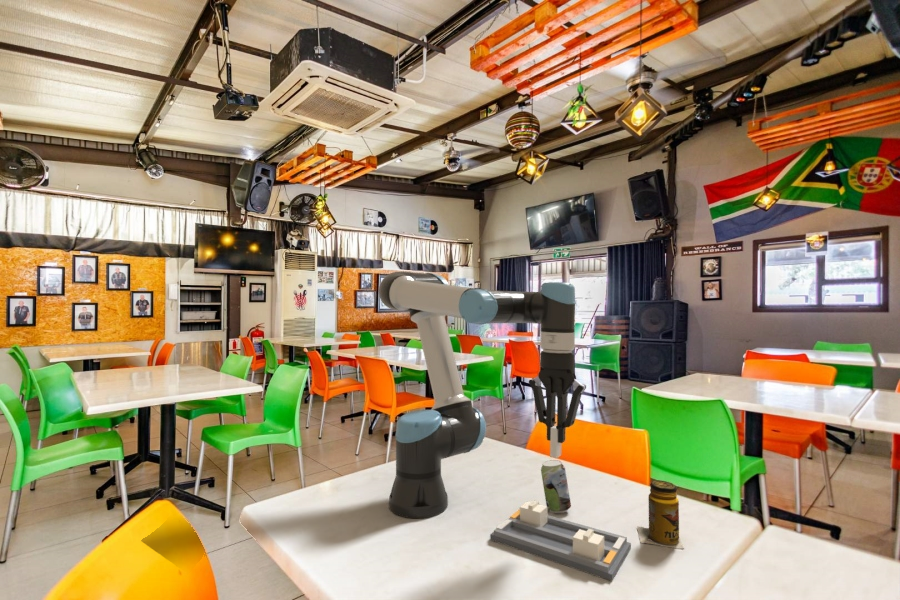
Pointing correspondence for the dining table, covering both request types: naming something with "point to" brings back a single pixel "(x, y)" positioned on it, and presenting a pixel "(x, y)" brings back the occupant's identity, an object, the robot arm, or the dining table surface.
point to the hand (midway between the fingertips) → (555, 455)
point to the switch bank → (562, 544)
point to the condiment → (662, 516)
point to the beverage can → (555, 486)
